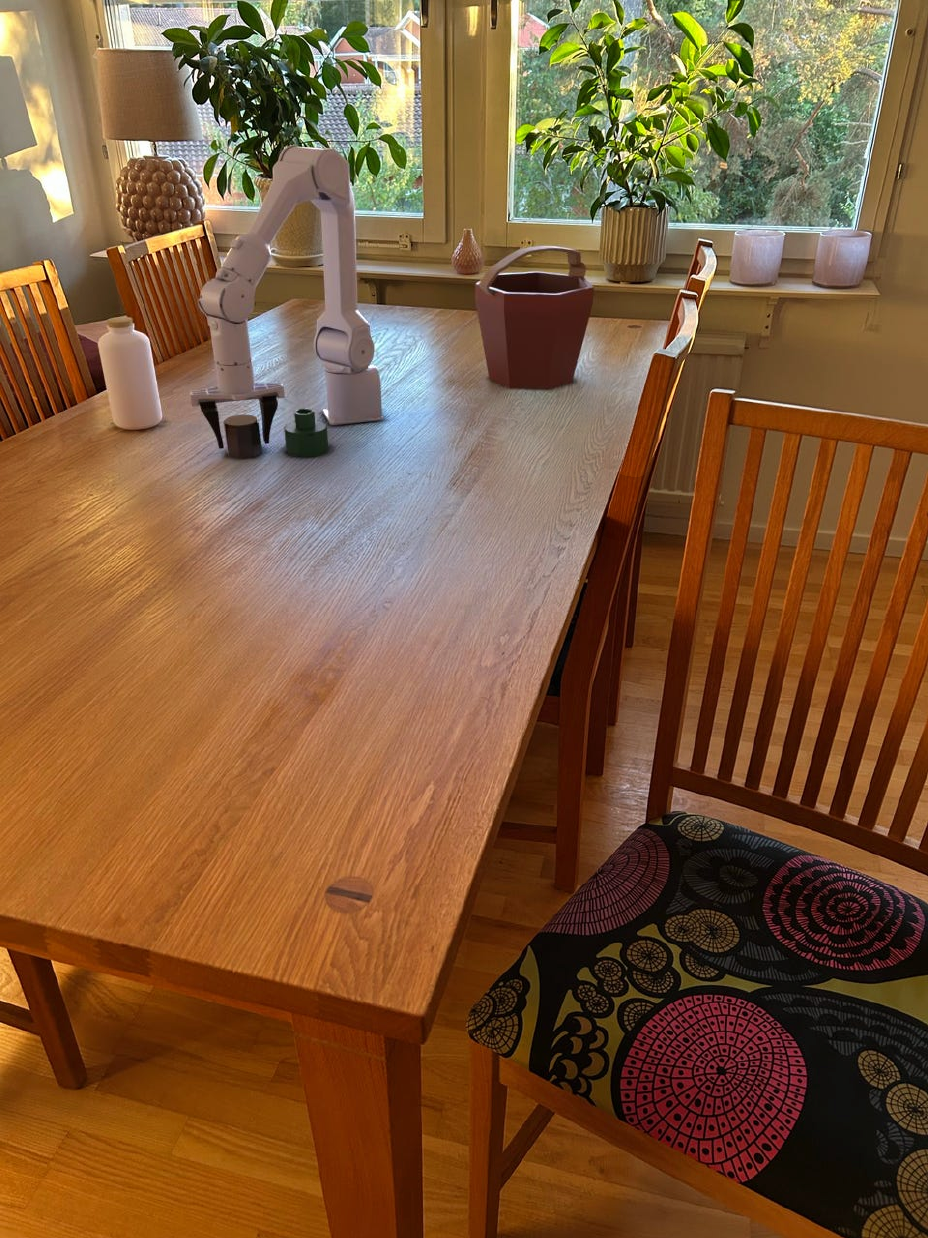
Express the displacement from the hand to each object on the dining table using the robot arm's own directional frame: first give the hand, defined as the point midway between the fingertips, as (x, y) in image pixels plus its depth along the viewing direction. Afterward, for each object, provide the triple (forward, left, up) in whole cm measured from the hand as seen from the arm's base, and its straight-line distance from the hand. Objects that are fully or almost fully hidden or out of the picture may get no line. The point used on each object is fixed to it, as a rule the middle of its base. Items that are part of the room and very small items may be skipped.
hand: (243, 444), depth 151 cm
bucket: (-61, -24, -2) cm, 66 cm away
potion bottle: (+16, -20, -2) cm, 26 cm away
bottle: (-10, +2, -1) cm, 10 cm away
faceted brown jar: (0, 0, -1) cm, 1 cm away
